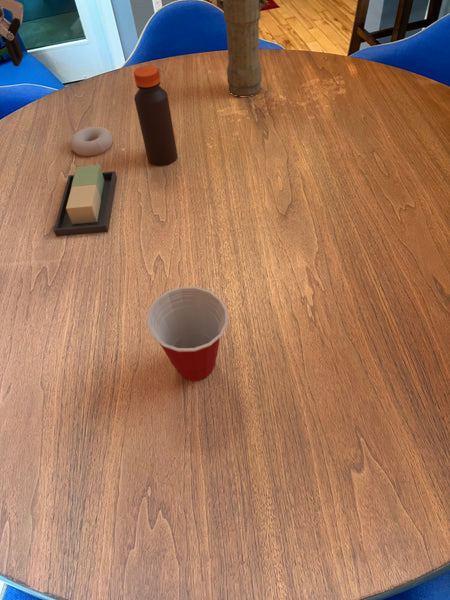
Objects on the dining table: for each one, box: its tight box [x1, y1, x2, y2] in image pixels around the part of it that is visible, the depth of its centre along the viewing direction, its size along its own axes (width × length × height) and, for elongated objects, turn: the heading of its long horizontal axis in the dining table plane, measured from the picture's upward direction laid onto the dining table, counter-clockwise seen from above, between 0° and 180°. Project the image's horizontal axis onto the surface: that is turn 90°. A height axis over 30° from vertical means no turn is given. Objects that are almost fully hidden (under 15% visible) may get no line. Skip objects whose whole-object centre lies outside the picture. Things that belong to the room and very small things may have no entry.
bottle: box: [133, 65, 178, 167], centre depth 101 cm, size 7×7×20 cm
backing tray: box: [53, 170, 118, 237], centre depth 98 cm, size 10×18×2 cm, turn 3°
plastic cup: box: [146, 286, 229, 382], centre depth 67 cm, size 11×11×12 cm
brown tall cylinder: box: [216, 0, 267, 97], centre depth 115 cm, size 9×12×35 cm
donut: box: [69, 125, 114, 157], centre depth 113 cm, size 10×4×10 cm
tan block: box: [66, 185, 101, 224], centre depth 96 cm, size 5×7×4 cm
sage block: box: [71, 164, 104, 198], centre depth 100 cm, size 5×7×4 cm
